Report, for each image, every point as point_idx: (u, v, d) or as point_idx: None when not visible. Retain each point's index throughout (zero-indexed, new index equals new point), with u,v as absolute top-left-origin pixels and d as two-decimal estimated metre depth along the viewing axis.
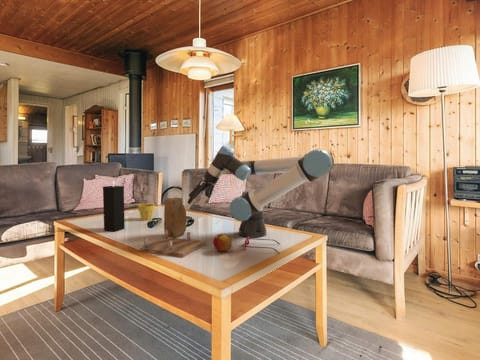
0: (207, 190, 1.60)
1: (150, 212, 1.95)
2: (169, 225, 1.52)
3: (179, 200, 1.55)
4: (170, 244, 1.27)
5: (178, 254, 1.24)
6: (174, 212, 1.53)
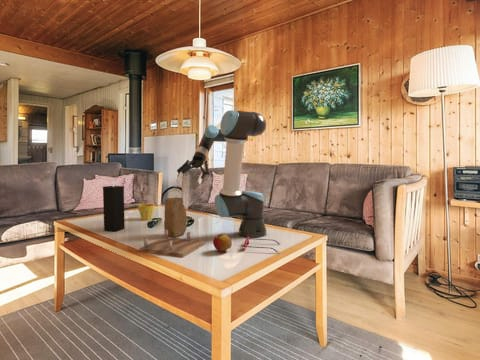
0: (200, 168, 1.74)
1: (150, 212, 1.95)
2: (169, 225, 1.52)
3: (179, 200, 1.55)
4: (170, 244, 1.27)
5: (178, 254, 1.24)
6: (175, 212, 1.53)
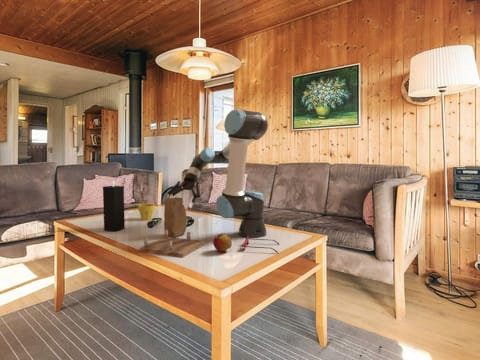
0: (191, 190, 1.67)
1: (150, 212, 1.95)
2: (169, 225, 1.52)
3: (179, 200, 1.55)
4: (170, 244, 1.27)
5: (178, 254, 1.24)
6: (174, 212, 1.53)
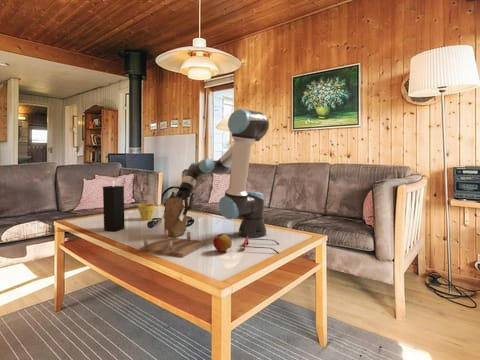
0: None
1: (150, 212, 1.95)
2: (169, 225, 1.52)
3: (179, 200, 1.55)
4: (170, 244, 1.27)
5: (178, 254, 1.24)
6: (175, 212, 1.53)
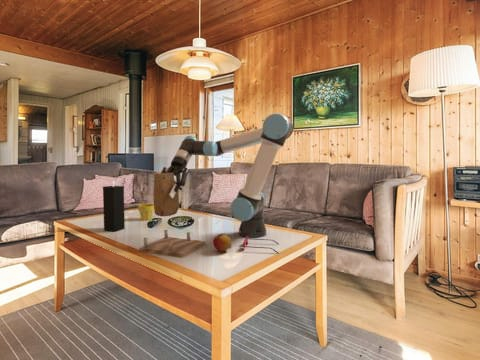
0: None
1: (150, 212, 1.95)
2: (158, 203, 1.36)
3: (170, 175, 1.38)
4: (170, 244, 1.27)
5: (178, 254, 1.24)
6: (164, 188, 1.36)
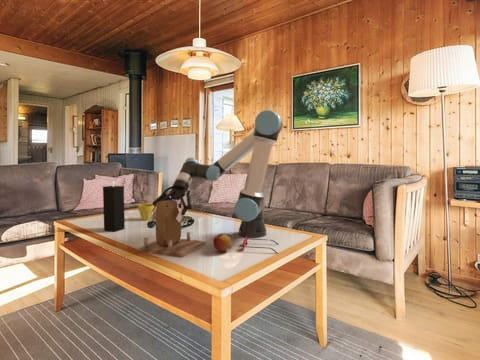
0: (181, 201, 1.39)
1: (150, 212, 1.95)
2: (161, 232, 1.32)
3: (173, 203, 1.34)
4: (170, 244, 1.27)
5: (178, 254, 1.24)
6: (168, 216, 1.32)
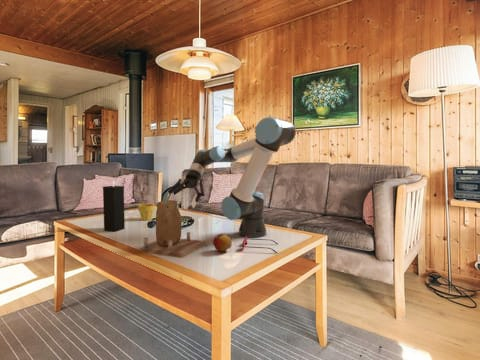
0: None
1: (150, 212, 1.95)
2: (161, 232, 1.32)
3: (173, 203, 1.34)
4: (170, 244, 1.27)
5: (178, 254, 1.24)
6: (168, 217, 1.32)
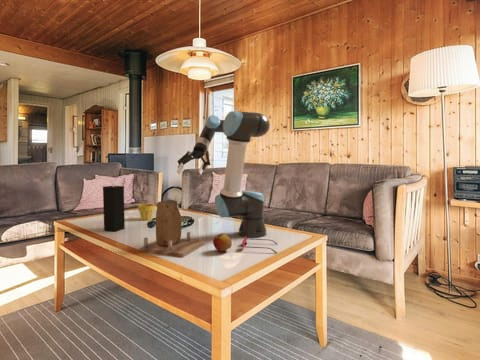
0: (201, 159, 1.70)
1: (150, 212, 1.95)
2: (161, 232, 1.32)
3: (173, 203, 1.34)
4: (170, 244, 1.27)
5: (178, 254, 1.24)
6: (168, 217, 1.32)
